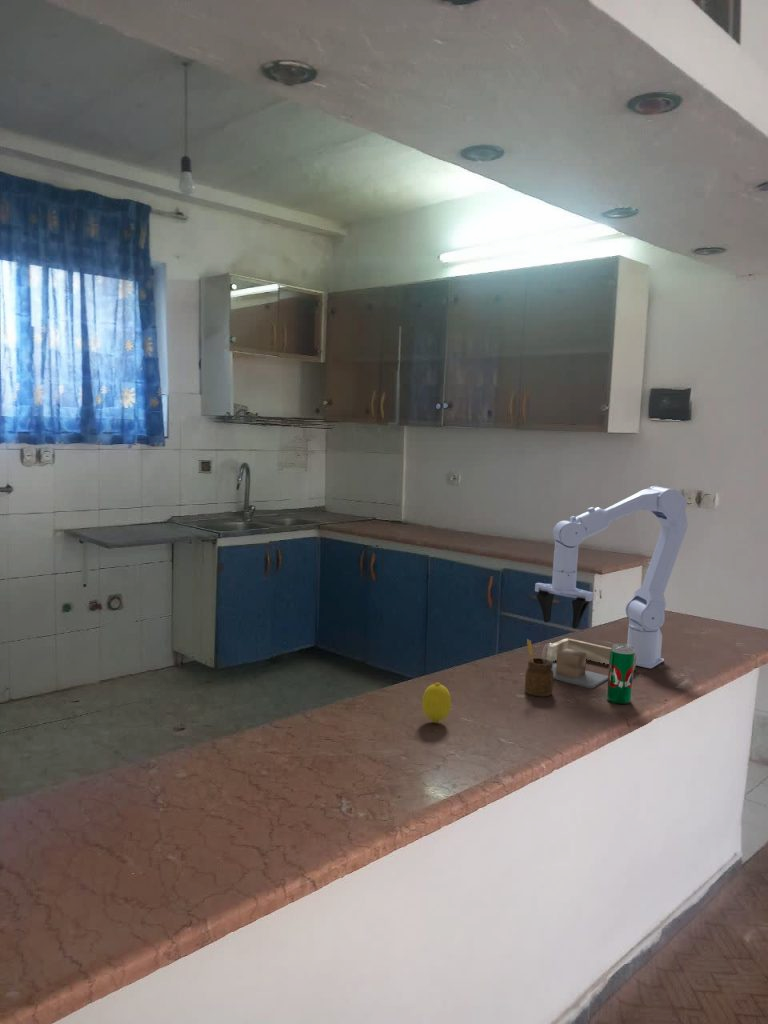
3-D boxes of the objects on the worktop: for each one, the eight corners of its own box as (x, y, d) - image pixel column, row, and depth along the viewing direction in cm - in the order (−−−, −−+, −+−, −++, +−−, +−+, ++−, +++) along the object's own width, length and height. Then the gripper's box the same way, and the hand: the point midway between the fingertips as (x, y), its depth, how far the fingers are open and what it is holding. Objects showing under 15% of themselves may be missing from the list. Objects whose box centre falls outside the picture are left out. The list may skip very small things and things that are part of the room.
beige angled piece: (565, 653, 200) (566, 637, 199) (635, 669, 188) (636, 653, 188) (546, 661, 192) (547, 645, 192) (618, 679, 181) (619, 662, 180)
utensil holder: (557, 696, 168) (561, 641, 166) (532, 698, 165) (535, 643, 164) (543, 687, 173) (546, 634, 172) (518, 689, 171) (521, 636, 170)
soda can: (628, 697, 168) (632, 643, 167) (633, 706, 163) (637, 650, 162) (604, 695, 169) (608, 642, 167) (608, 704, 164) (613, 648, 162)
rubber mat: (551, 663, 190) (551, 661, 190) (609, 678, 181) (610, 676, 181) (531, 673, 182) (531, 671, 182) (591, 688, 173) (591, 686, 173)
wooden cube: (565, 668, 185) (566, 648, 185) (585, 673, 182) (586, 653, 181) (555, 673, 181) (557, 652, 181) (575, 678, 178) (577, 657, 178)
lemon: (453, 720, 151) (456, 681, 150) (443, 730, 146) (446, 689, 145) (427, 715, 153) (429, 676, 152) (416, 724, 148) (418, 684, 148)
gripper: (530, 567, 191) (527, 621, 193) (585, 577, 182) (581, 633, 183) (543, 564, 196) (540, 617, 198) (598, 573, 187) (594, 628, 189)
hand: (561, 624), depth 191 cm, fingers open, 7 cm apart
